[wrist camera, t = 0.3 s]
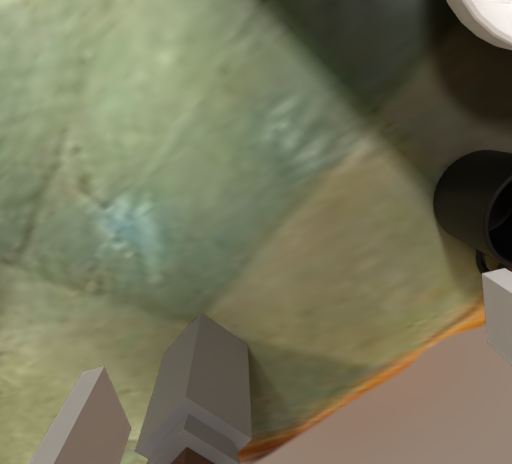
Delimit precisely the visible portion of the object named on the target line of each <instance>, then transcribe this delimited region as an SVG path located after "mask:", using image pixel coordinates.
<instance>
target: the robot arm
mask: <svg viewBox="0 0 512 464" xmlns="http://www.w3.org/2000/svg"><path fill="white" fill-rule="evenodd" d="M482 281H483V294H484V307H485V319H486V332H487V342H488V344H489V345H490V346H491V347H492V348H493V349H494V350H496V351H497V352H498V353H499V354H500V355H501V356H502V357H503V358H504V359H505V360H506V361H507V362H508V363H510V364H511V365H512V272H511V271H509V270H507V269H505V268H503V269H499V270H494V271H490V272H486V273H482ZM130 431H131V426H130V424H129V422H128V419H127V417H126V415H125V412H124V410H123V408H122V405H121V403H120V401H119V399H118V396H117V394H116V392H115V389H114V387H113V385H112V382H111V380H110V378H109V376H108V373H107V371H106V369H105V366H103V367H99V368H95V369H91V370H87V371H83V372H82V374H81V376H80V377H79V379H78V381H77V382H76V384H75V386H74V387H73V389H72V391H71V392H70V394H69V396H68V398H67V399H66V401H65V403H64V404H63V406H62V408H61V409H60V411H59V413H58V414H57V416H56V418H55V419H54V421H53V423H52V425H51V426H50V428H49V430H48V431H47V433H46V435H45V436H44V438H43V440H42V441H41V443H40V445H39V446H38V448H37V450H36V452H35V453H34V455H33V457H32V458H31V460H30V462H29V463H28V464H120V461H121V458H122V455H123V452H124V449H125V446H126V443H127V440H128V437H129V434H130Z"/></svg>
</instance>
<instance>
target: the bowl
mask: <svg viewBox="0 0 512 464" xmlns="http://www.w3.org/2000/svg"><path fill="white" fill-rule="evenodd" d="M446 1H447V3H448V5H449V6H450V7H451V9H452V10H453V12H454V13H455V14H456V16H457V17H458V19H459V20H460V22H461V23H462V24H464V25H465V26H466V27H467V28H468V29H469V30H470V31H471V32H473V33H474V34H475V35H476V36H477V37H479V38H481V39H483V40H485V41H487V42H488V43H490V44H492V45H494V46H497V47H501V48H505V49H508V50H512V0H446Z"/></svg>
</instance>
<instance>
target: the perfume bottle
mask: <svg viewBox="0 0 512 464" xmlns="http://www.w3.org/2000/svg"><path fill="white" fill-rule="evenodd" d="M251 440H252V429H251V406H250V384H249V362H248V345H247V344H246V343H244V342H243V341H241V340H240V339H238V338H237V337H236V336H234V335H233V334H231V333H230V332H229V331H227V330H226V329H224V328H223V327H221V326H220V325H219V324H217V323H216V322H214V321H213V320H212V319H210V318H209V317H207V316H206V315H204V314H203V313H202V312H201V313H200V314H199V315H198V316H197V317H196V318H195V319H194V320H193V322H192V323H191V324H190V325H189V326H188V327H187V328H186V330H185V331H184V332H183V333H182V334H181V335H180V336H179V337H178V339H177V340H176V341H175V342H174V343H173V344H172V345H171V347H170V348H169V349H168V350H167V351H166V352H165V353H164V357H163V360H162V363H161V367H160V370H159V373H158V376H157V380H156V383H155V386H154V390H153V393H152V396H151V400H150V403H149V406H148V409H147V413H146V416H145V419H144V423H143V426H142V429H141V433H140V436H139V439H138V442H137V446H136V449H135V452H137V453H139V454H140V455H142V456H144V457H145V458H147V459H149V460H148V461H147V463H146V464H240V461H239V458H238V455H237V453H238V452H239V451H240V450H241V449H242V448H243V447H244V446H246V445H247V444H248V443H249V442H250V441H251Z"/></svg>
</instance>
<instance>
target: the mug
mask: <svg viewBox="0 0 512 464" xmlns="http://www.w3.org/2000/svg"><path fill="white" fill-rule="evenodd" d="M434 209H435V214H436V217H437V219H438V221H439V223H440V225H441V226H442V227H443V228H444V229H445V230H446V231H447V232H448V233H450V234H451V235H453V236H455V237H456V238H458V239H460V240H462V241H464V242H465V243H467V244H469V245H471V246H472V247H474V248H475V249H476V265H477V268H478V270H479V272H480V273H481V274H482V273H486V272H490V270H489V269H488V268H487V266H486V263H485V254H487V255H488V256H490V257H492V258H494V259H495V260H497V261H499V265H498V267H497V268H496V269H495V270H499V269H503V268H505V269H507V270H508V269H509V267H512V153H507V152H500V151H493V150H481V151H476V152H472V153H470V154H467V155H465V156H463V157H461V158H460V159H458V160H457V161H455V162H454V163H453V164H452V165H451V166H449V167H448V169H447V170H446V171H445V172H444V173H443V175H442V177H441V178H440V180H439V182H438V184H437V187H436V190H435V194H434Z"/></svg>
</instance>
